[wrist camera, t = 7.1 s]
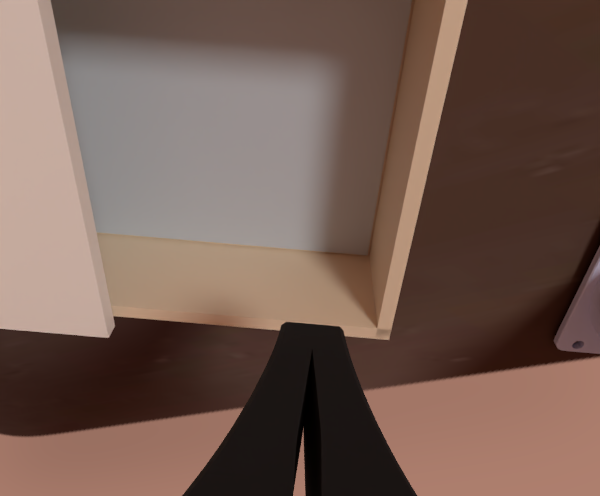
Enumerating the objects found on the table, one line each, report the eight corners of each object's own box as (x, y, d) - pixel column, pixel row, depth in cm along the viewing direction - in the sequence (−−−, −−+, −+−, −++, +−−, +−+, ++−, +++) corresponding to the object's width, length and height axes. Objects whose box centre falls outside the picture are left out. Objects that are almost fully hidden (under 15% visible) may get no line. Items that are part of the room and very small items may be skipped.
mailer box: (438, -56, 15) (478, -45, 11) (378, 259, 22) (388, 339, 18) (-75, -97, 15) (-226, -102, 11) (22, 229, 22) (-50, 302, 18)
